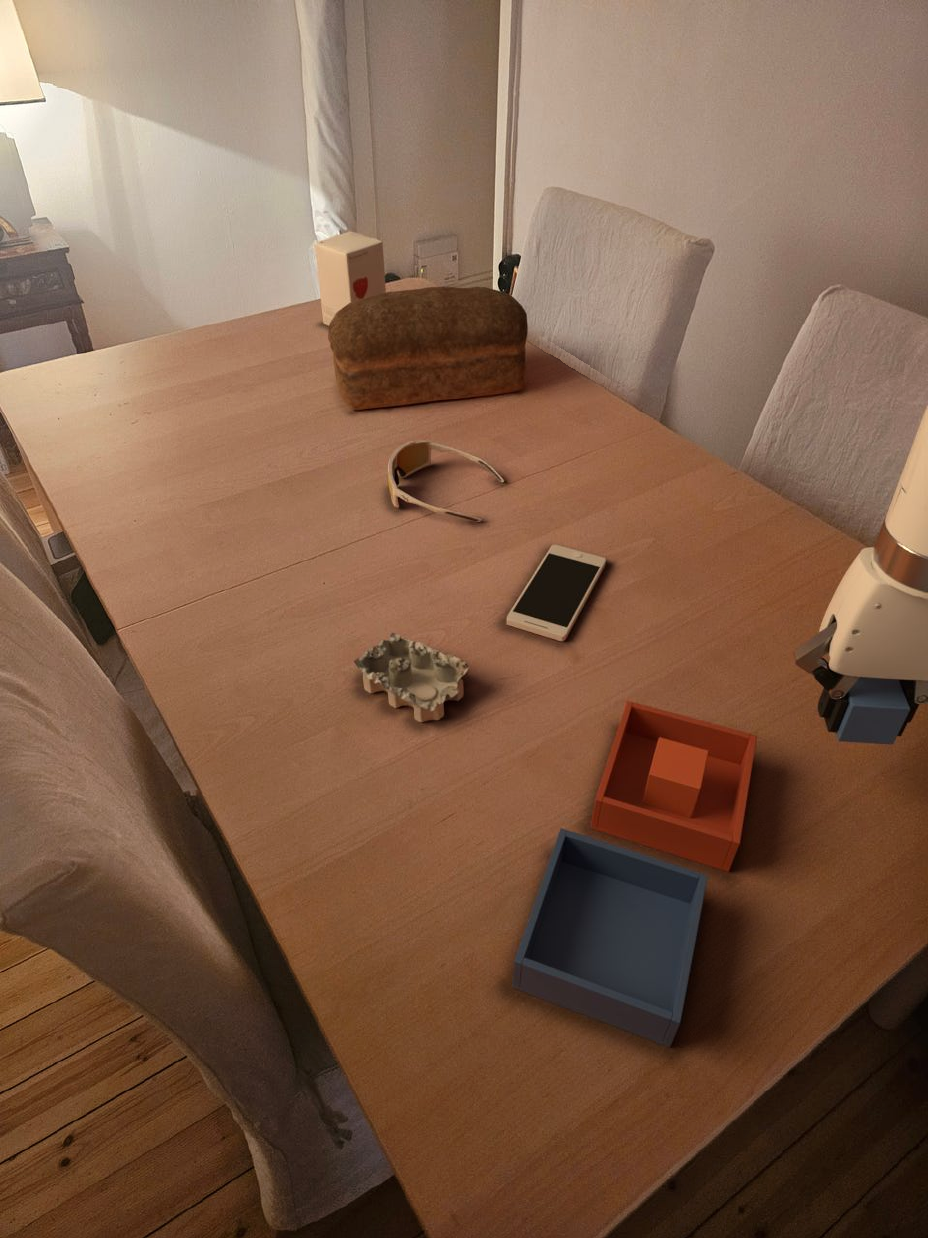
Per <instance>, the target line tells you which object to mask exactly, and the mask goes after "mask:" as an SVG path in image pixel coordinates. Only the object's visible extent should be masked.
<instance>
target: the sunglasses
mask: <svg viewBox="0 0 928 1238" xmlns="http://www.w3.org/2000/svg"><path fill="white" fill-rule="evenodd" d="M432 450H434V451H438V452H441V453H453V454H458V455H460V456H462V457H465V458H466V459H468V460H470V461H473V462H476V463H478V464H480V465H481V466H483V467H484V468H486V470H488V471H489V472H490V473H491V474H492V475H493V476H494V477H495V478H496V479H497V480H498V481H499V482H500V483H505V480H504V478H502V476H501V475H500V473H498V472H497V471H496V470H495V468H493V467H492V466H491V465H489V464H488V463H487V462H486V461H485V460H483V459H481V458H480V457H478V456H475V455H472V454H470V453H468V452H465V451H462V450H460V449H458V448H454V447H451V446H448V445H445V444H440V443H437V442H432V441H429V440H427V439H420V440H409V441H406V442H404V443H403V444H401V445H400V446H398V447H397V448H396V449H394V451H392V454H391V455H390V457H389V460H388V463H387V464H388V465H387V470H388V471H387V480H388V491H389V494H390V497H391V502H392V505H393V507H395V508H400V504H399V499H398V498H400V499H402V500H403V501H405V502H406V503H410V504H414V505H417V506H419V507H423V508H426V509H428V510H429V511H432V512H435V513H438V514H443V515H448V516H452V517H456V518H460V519H464V520H467V521H471V522H476V523H480V522H482V521H483V519H482V518H480V517H476V516H473V515H468V514H464V513H462V512H458V511H455V510H451V509H448V508H442V507H437V506H434V505H431V504H428V503H427V502H423V501H422V500H419V499H417V498H415V497H413V496H411V495H409V494H408V493H406V492H404V491H403V490H402V489H400V488H398V486H399V485H400V478H404V479H405V478H407V477H408V476H410V475H411V474H414V473H415V472H417V471H419V470H421V469H423V468H424V467H427V466H429V465H430V464H431V462H432V461H431V460H432Z"/></svg>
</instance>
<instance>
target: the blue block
mask: <svg viewBox="0 0 928 1238" xmlns="http://www.w3.org/2000/svg"><path fill="white" fill-rule="evenodd" d="M847 697H848V701H849V704H848V707H847V709H846V711H845V714H844V716H843V719H842V721H841V724H840V726H839V728H838V731H836V732H835V735H836V738H837V741H838V742H845V743H860V744H861V743H862V744H875V745H876V744H877V745H894V743H895V741H896V739H897V737H898V736H897V735H898V733H899V731H900V729H901V727H902V725H903V723H904V721H905V719H906V717H907V715H908V713H909V711H910V707H909V705H908V702H907V700H906V697H905V695H904V692H903V690H902V687H901V685H900V682H899V680H898V679H886V678H869V677H859V679H858V680H857V681H856V683H855V684H854V685H853V686H852V688H851V689H850V690H849V691H848V693H847Z"/></svg>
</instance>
